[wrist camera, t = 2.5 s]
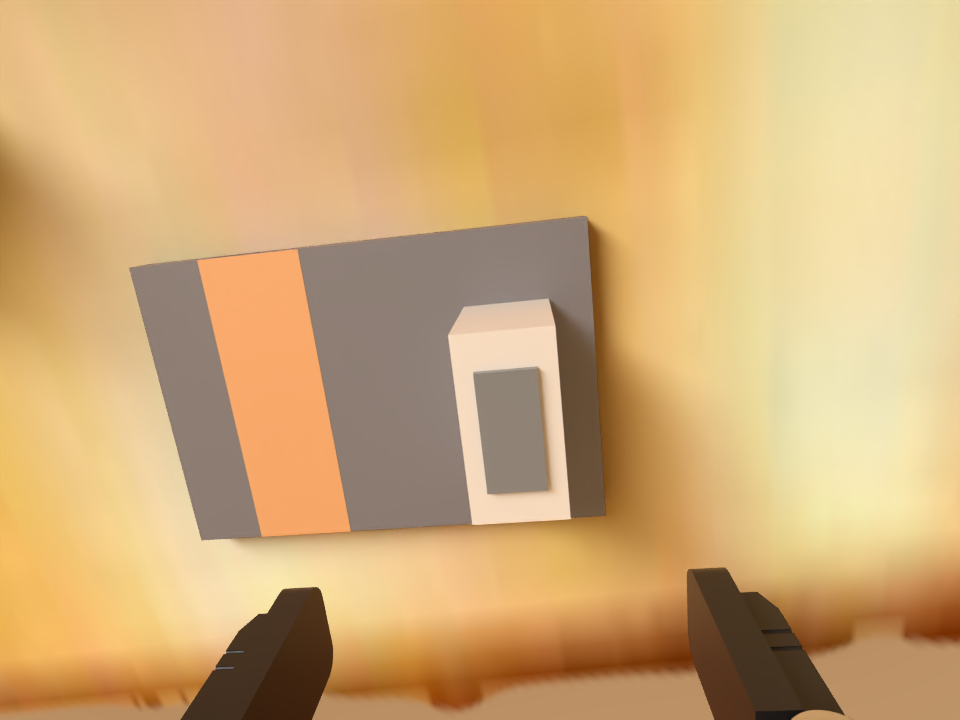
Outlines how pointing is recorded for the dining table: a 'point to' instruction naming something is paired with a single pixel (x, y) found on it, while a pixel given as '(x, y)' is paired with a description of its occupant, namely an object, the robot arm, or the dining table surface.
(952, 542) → the dining table surface
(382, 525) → the board
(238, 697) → the robot arm
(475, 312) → the block
